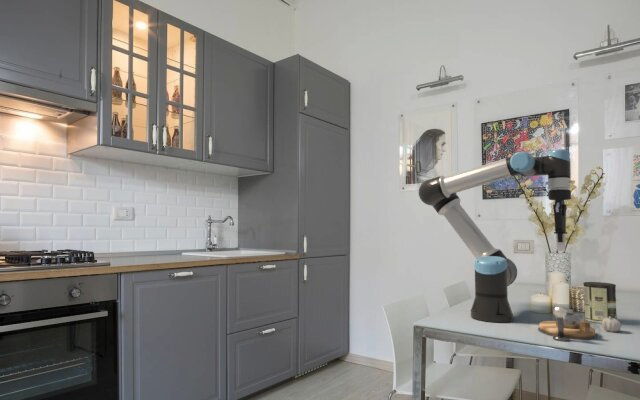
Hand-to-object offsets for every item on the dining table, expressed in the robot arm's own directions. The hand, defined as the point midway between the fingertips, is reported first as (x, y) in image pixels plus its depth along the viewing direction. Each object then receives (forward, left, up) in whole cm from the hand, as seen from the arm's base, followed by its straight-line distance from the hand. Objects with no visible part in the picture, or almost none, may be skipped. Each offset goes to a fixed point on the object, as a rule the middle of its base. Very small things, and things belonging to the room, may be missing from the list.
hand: (561, 250), depth 158 cm
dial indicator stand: (+4, -30, -26) cm, 40 cm away
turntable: (+4, -20, -26) cm, 33 cm away
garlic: (+15, -7, -27) cm, 32 cm away
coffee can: (+11, +10, -27) cm, 30 cm away
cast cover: (+4, -20, -24) cm, 32 cm away
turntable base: (+4, -20, -26) cm, 33 cm away
